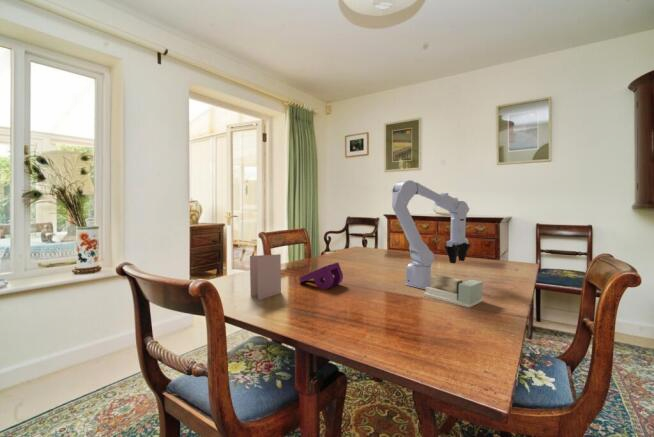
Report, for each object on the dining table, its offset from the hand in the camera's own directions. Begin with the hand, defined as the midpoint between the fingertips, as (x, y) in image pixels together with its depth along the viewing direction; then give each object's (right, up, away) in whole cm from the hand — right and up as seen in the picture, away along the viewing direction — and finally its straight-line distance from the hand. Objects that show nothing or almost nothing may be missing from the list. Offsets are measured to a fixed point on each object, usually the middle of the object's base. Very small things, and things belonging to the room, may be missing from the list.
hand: (457, 261), depth 133 cm
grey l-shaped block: (-10, -11, -19) cm, 24 cm away
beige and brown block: (-11, -10, -17) cm, 23 cm away
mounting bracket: (-58, -10, +1) cm, 59 cm away
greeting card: (-77, -11, -16) cm, 79 cm away
